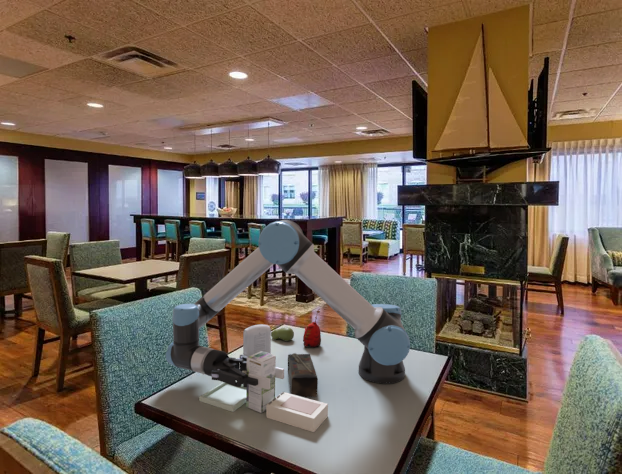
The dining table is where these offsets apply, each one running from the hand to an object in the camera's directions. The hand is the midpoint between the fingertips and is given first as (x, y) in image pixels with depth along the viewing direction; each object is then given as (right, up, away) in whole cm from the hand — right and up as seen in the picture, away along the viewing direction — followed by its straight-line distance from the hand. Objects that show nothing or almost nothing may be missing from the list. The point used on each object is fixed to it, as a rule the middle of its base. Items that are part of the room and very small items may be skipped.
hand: (276, 378), depth 104 cm
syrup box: (-5, -9, +3) cm, 11 cm away
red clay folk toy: (+10, -5, +50) cm, 51 cm away
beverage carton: (+6, -8, +17) cm, 20 cm away
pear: (-3, -4, +56) cm, 56 cm away
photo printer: (-10, -6, +36) cm, 38 cm away
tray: (-14, -8, +8) cm, 18 cm away
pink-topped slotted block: (+6, -9, -2) cm, 11 cm away
